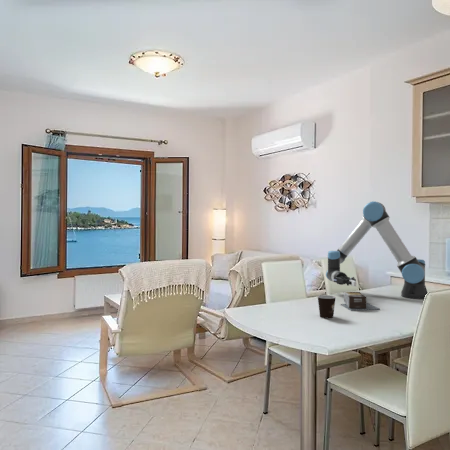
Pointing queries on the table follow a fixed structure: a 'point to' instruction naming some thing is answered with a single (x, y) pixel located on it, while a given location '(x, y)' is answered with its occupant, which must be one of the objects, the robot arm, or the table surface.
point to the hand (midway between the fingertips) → (355, 283)
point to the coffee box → (355, 300)
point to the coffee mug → (326, 306)
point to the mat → (368, 307)
